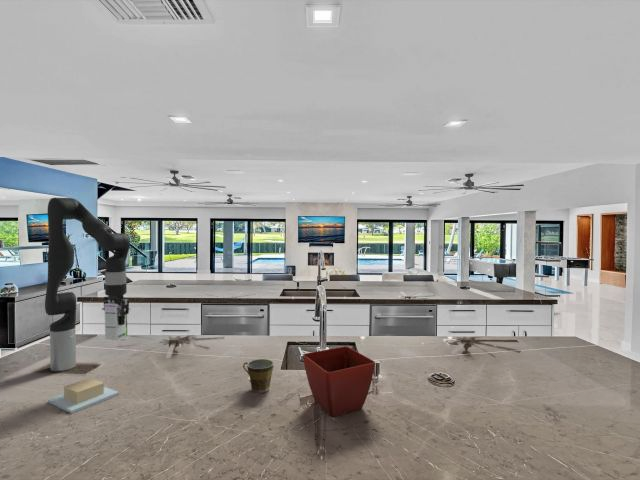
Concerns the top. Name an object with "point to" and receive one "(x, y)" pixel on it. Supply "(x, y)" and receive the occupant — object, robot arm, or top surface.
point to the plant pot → (339, 379)
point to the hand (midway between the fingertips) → (116, 323)
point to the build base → (83, 404)
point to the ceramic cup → (259, 374)
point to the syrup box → (114, 322)
